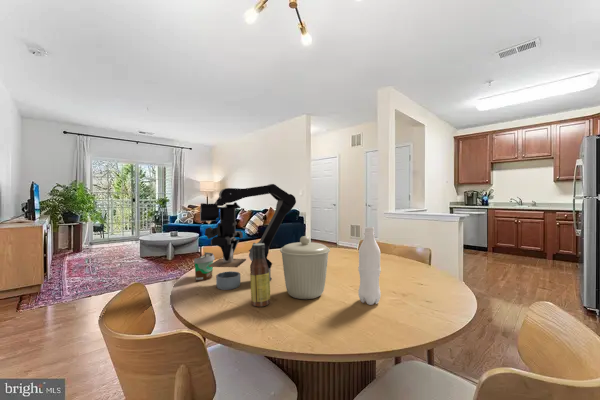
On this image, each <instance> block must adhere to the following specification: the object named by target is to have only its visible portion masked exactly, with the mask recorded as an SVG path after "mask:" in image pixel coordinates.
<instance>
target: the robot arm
mask: <svg viewBox="0 0 600 400" xmlns="http://www.w3.org/2000/svg"><path fill="white" fill-rule="evenodd" d="M263 195H271V196H272V197H273V199H275V200H276V201H277V203H276V206H275V211H274V213H273V215H272V217H271V219H270V221H269V223H268V225H267V226H266V228H265V230H264V231H263V235H262V236H261V238H260V239H259V241H258V242H257V243H263V244H265V249H264V252H265V259H266V262H267V265H268V268H269V278H270V281H271V280H272V277H271V276H272V275H271V271H272V270H271V268H272V265H273V262H271V260H270V259H268V256H269V253H270V252H269V251H270V246H271V244H272V242H273V240H274V238H275V235H276V234H277V232H278V231H279V228H280V226H281V224H282V222H283V220H284V219H285V217H286V215H287V214H289V212H291V211H292V210H293V208H294V207H295V205H296V203H297V200H296V197H295V195H293V194H291V193H288V192H287V191H285V190H283V189H282V188H280V187H279V186H277V185H276V183H270V184H267V185H261V186H260V185H259V186H253V187H246V188H238V187H237V188H232V187H227V188H223V189H221V190H220V191H219V194H218V197H217V199H216V200H215V202H214V203H204V202H201V203H200V206H199V207H200V209H199V221H200V222H214V221H216V220H217V219H219V218H220V219H219V221H220V222H219V223H218V224H217V227H214V228H212V227H210V226H209V227H207V228H205V230H204V237H207V240H209V239H211V240H210V245H211V246H218V247H219V248H220V249H221V251H222V256H223V255H224V258H225V260H226V261H228V260H229V257H230V254H231V250H232V249H233V254H234V253H235V250H236V249H237V246H238V244H239V242H240V239H243V237H244V235H243V232H242V231H241V230H236V225H238V222H237V221H236V209H241V206H240V205H239V204H238V203H237V202H236V201H240V200H242V199H246V198H251V197H256V196H257V197H258V196H263ZM233 202H234V203H233ZM224 205H225V206H224ZM237 238H239V239H237ZM253 244H256V242H252V245H253ZM248 252H249V253H248V257H249V259H250V261H251V262H252V260H253V248H252V247H251V248H250V249H249V250H248Z"/></svg>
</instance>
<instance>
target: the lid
mask: <svg viewBox="0 0 600 400" xmlns="http://www.w3.org/2000/svg"><path fill="white" fill-rule="evenodd" d="M245 262H247V258H234V253H233V249H232V250H231V254H230V257H229V260H228V261H226V260H225V258H224V255H223V254H222V258H221V257H220V258H218V259H217V260H214V261H213V263H212V264H210V265H209V267H213V268H238V267H240V266H241V265H242V264H243V263H245Z"/></svg>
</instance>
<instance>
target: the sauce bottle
mask: <svg viewBox="0 0 600 400" xmlns="http://www.w3.org/2000/svg"><path fill="white" fill-rule="evenodd" d="M255 243H256V242H255ZM251 248H253V260H252V261H251V263H250V271H249V272H250V273H249V276H250V297H251V298H250V299H251V305H252V306H253V307H256V308H257V307H258V308H259V307H260V308H262V307H263V308H264V307H266V306H269V304H270V303H271V285H270V284H271V283H270V282H271V280H270V278H269V268H268V265H267V262H266V259H265V252H264V249H265V244H263V243H258V242H257V243H256V244H253V243H252V245H251Z"/></svg>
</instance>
